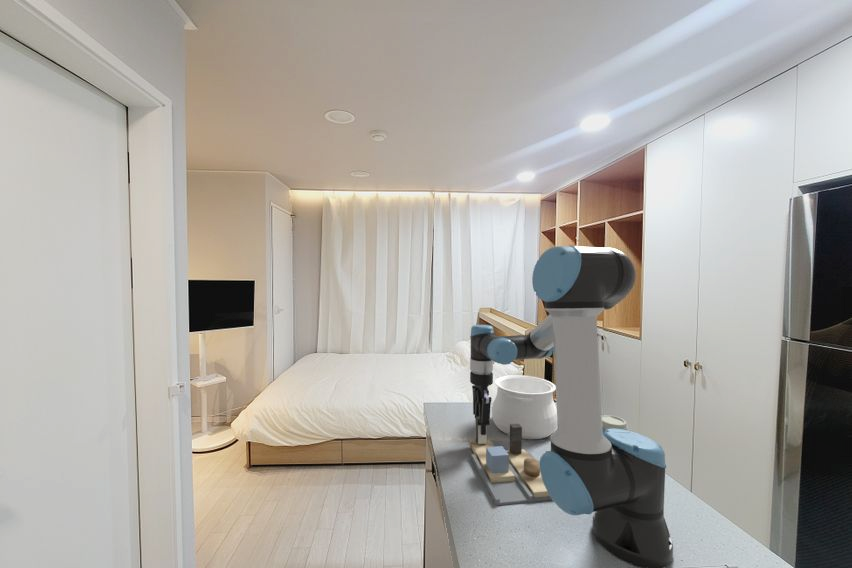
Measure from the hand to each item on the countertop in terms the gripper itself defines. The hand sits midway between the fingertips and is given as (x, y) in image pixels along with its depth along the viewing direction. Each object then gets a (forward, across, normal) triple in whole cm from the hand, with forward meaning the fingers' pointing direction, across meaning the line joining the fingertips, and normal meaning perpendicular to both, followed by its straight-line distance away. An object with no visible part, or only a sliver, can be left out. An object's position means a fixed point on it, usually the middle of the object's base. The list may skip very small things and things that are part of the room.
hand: (480, 440), depth 114 cm
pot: (+3, +13, -22) cm, 25 cm away
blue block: (+1, -15, 0) cm, 15 cm away
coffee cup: (+3, -11, -40) cm, 42 cm away
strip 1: (+3, -9, 0) cm, 10 cm away
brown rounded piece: (+1, -19, -9) cm, 21 cm away
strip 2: (+3, -17, -9) cm, 19 cm away
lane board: (+3, -17, -4) cm, 18 cm away
